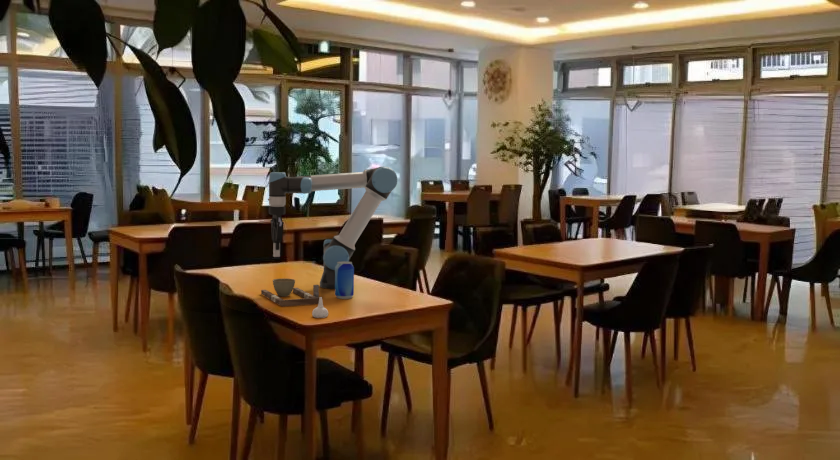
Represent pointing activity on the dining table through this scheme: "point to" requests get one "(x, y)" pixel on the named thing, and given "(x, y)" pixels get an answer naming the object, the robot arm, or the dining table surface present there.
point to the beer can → (344, 280)
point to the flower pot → (283, 286)
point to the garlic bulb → (320, 310)
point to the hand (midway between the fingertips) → (276, 256)
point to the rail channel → (294, 302)
